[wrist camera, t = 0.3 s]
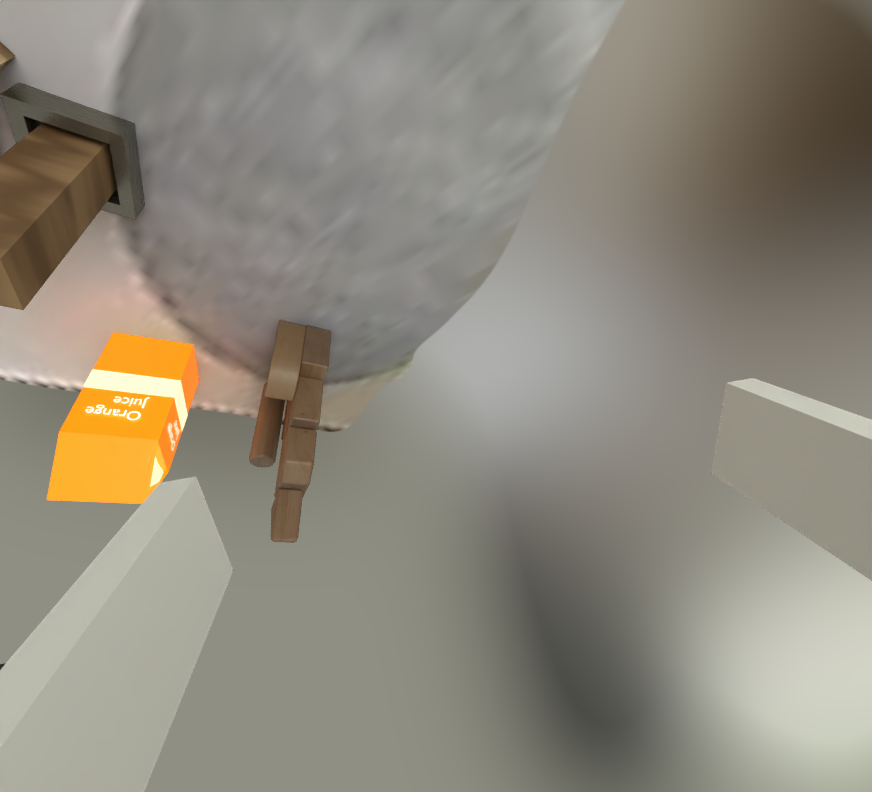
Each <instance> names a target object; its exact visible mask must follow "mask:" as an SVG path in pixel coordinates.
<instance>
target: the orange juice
mask: <svg viewBox="0 0 872 792" xmlns="http://www.w3.org/2000/svg"><path fill="white" fill-rule="evenodd" d="M198 381H199V378H198V372H197V365H196V358H195V351H194V345H192V344H185V343H179V342H172V341H166V340H160V339H153V338H147V337H140V336H134V335H127V334H121V333H115V332H113V334H112V336H111V338H110V340H109V341H108V343H107V345H106V347H105V349H104V351H103V352H102V354H101V356H100V358H99V360H98V362H97V363H96V365H95V367H94V369H92V371H91V373H90V375H89V377H88V379H87V380H86V382H85V384H84V386H83V389H82V391H81V393H80V395H79V397H78V398H77V400H76V402H75V404H74V406H73V407H72V409H71V411H70V413H69V415H68V417H67V419H66V420H65V422H64V424H63V426H62V428H61V430H60V431H59V433H58V434H59V436H58V442H57V447H56V452H55V458H54V463H53V469H52V475H51V479H50V485H49V491H48V496H47V500H60V501H85V502H112V503H136V504H137V503H138V504H142V503H143V502H144V501H145V500H146V499H147V497H148V496H149V495H150V494H151V493H152V492H153V490H154V489H155V488H156V487H157V486H158V484H159V483H161V481H162V480H163V479H164V477H165V476H166V474H167V473H168V472H169V469H170V466H171V463H172V460H173V456H174V454H175V451H176V448H177V444H178V441H179V439H180V436H181V432H182V431H183V428H184V425H185V422H186V419H187V416H188V411H189V408H190V405H191V402H192V399H193V396H194V393H195V390H196V387H197V384H198Z"/></svg>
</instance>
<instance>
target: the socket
mask: <svg viewBox="0 0 872 792" xmlns="http://www.w3.org/2000/svg"><path fill="white" fill-rule="evenodd" d="M0 95H1V98H2V101H3V104H4V107H5V110H6V113H7V116H8V119H9V122H10V125H11V128H12V131H13V134H14V137H15V140H16V143H18V142H19V141H21V140H22V139H23V138H24V137H26V136H27V135H28V134H29V133H31V132H32V131H33V130H34V129H35V128H37V127H38V126H39V125H40V124H42V123H43V122H44V123H47V124H50V125H53V126H56V127H59V128H62V129H65V130H68V131H71V132H74V133H77V134H80V135H83V136H86V137H89V138H92V139H95V140H98V141H101V142H104V143H107V144H110V150H111V155H112V161H113V167H114V173H115V178H116V184H117V189H116V190H115V192H114V193H113V194H112V196H111V197H110V198H109V199H108V201H107V202H106V203H105V205H104V206H103V207H102V209H101V210H103V211H107V212H111V213H114V214H118V215H121V216H125V217H128V218H132V219H136V218H137V216H138V215H139V213H140V212H141V210H142V209H143V207H144V206H145V203H144V195H143V187H142V179H141V171H140V164H139V156H138V148H137V140H136V132H135V125H134V123H131V122H129V121H126V120H123V119H120V118H117V117H115V116H112V115H109V114H106V113H103V112H100V111H98V110H95V109H92V108H89V107H86V106H83V105H81V104H78V103H75V102H72V101H69V100H67V99H64V98H61V97H58V96H55V95H52V94H50V93H47V92H44V91H41V90H38V89H35V88H33V87H30V86H27V85H24V84H21V83H17V84H16V85H14V86H13V87H11V88H9V89H8V90H6V91H5V92H3V93H2V94H0Z"/></svg>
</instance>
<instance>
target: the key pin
mask: <svg viewBox="0 0 872 792" xmlns="http://www.w3.org/2000/svg"><path fill="white" fill-rule="evenodd" d="M116 189H117V184H116V178H115V173H114V167H113V161H112V155H111V150H110V144H107V143H104V142H101V141H98V140H95V139H92V138H89V137H86V136H83V135H80V134H77V133H74V132H71V131H68V130H65V129H62V128H59V127H56V126H53V125H50V124H47V123H44V122H43V123H42V124H40V125H39V126H38V127H37V128H35V129H34V130H33V131H32V132H31V133H29V134H28V135H27V136H26V137H24V138H23V139H22V140H21V141H19V142H18V143H17V144H16V145H14V146H13V147H12V148H11V149H9V150H8V151H7V152H6V153H4V154H3V155H2V156H1V157H0V306H5V307H10V308H16V309H21V310H24V309H25V307H26V306H27V305H28V303H29V302H30V301H31V300H32V298H33V297H34V296H35V294H36V293H37V292H38V290H39V289H40V288H41V287H42V285H43V284H44V283H45V281H46V280H47V279H48V277H49V276H50V275H51V274H52V272H53V271H54V270H55V268H56V267H57V266H58V264H59V263H60V262H61V261H62V259H63V258H64V257H65V255H66V254H67V253H68V251H69V250H70V249H71V248H72V246H73V245H74V244H75V242H76V241H77V240H78V238H79V237H80V236H81V235H82V233H83V232H84V231H85V229H86V228H87V227H88V225H89V224H90V223H91V222H92V220H93V219H94V218H95V216H96V215H97V214H98V212H99V211H100V210H101V209H102V207H103V206H104V205H105V203H106V202H107V201H108V199H109V198H110V197H111V196H112V194H113V193H114V192H115V190H116Z"/></svg>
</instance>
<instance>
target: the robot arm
mask: <svg viewBox="0 0 872 792" xmlns="http://www.w3.org/2000/svg"><path fill="white" fill-rule="evenodd" d="M711 473H712V474H713V475H714V476H716V477H717V478H719V479H720V480H722V481H723V482H725V483H726V484H728V485H729V486H731V487H732V488H734V489H735V490H737V491H738V492H740V493H741V494H743V495H745V496H746V497H747V498H749V499H750V500H752V501H753V502H755V503H756V504H758V505H759V506H761V507H762V508H764V509H766V510H767V511H768V512H770V513H771V514H773V515H775V516H776V517H777V518H779V519H780V520H782V521H783V522H785V523H786V524H788V525H789V526H791V527H792V528H794V529H795V530H797V531H798V532H800V533H801V534H803V535H804V536H806V537H807V538H809V539H810V540H812V541H813V542H815V543H816V544H818V545H819V546H821V547H822V548H824V549H825V550H827V551H828V552H830V553H831V554H833V555H834V556H836V557H837V558H839V559H840V560H842V561H843V562H845V563H846V564H848V565H849V566H851V567H852V568H854V569H855V570H856V571H858V572H860V573H861V574H862V575H864V576H865V577H867V578H868V579H870V580H871V581H872V420H871V419H868V418H865V417H862V416H859V415H856V414H854V413H851V412H847V411H845V410H842V409H839V408H836V407H834V406H831V405H828V404H825V403H822V402H819V401H816V400H814V399H811V398H808V397H805V396H802V395H799V394H797V393H794V392H791V391H788V390H785V389H782V388H779V387H777V386H774V385H771V384H768V383H765V382H762V381H759V380H757V379H754V378H751V379H745V380H740V381H734V382H728V383H726V389H725V395H724V401H723V406H722V413H721V418H720V424H719V430H718V436H717V442H716V448H715V454H714V460H713V466H712V471H711ZM232 572H233V569H232V566H231V564H230V561H229V559H228V556H227V554H226V551H225V549H224V546H223V544H222V541H221V539H220V536H219V533H218V531H217V528H216V526H215V523H214V521H213V518H212V516H211V513H210V511H209V508H208V506H207V503H206V501H205V498H204V495H203V493H202V490H201V488H200V485H199V483H198V480H197V478H196V477H191V478H185V479H179V480H174V481H168V482H163V483H159V484H158V486H157V487H156V488H155V489H154V490H153V492H152V493H151V494H150V495H149V496H148V497H147V499H146V500H145V501H144V502H143V503H142V504H141V506H140V507H139V508H138V509H137V510H136V512H135V513H134V514H133V515H132V516H131V517H130V519H129V520H128V521H127V522H126V523H125V524H124V526H123V527H122V528H121V529H120V531H118V533H117V534H116V535H115V536H114V537H113V538H112V540H111V541H110V542H109V543H108V544H107V546H106V547H105V548H104V549H103V550H102V551H101V553H100V554H99V555H98V556H97V557H96V558H95V560H94V561H93V562H92V563H91V564H90V565H89V567H88V568H87V569H86V570H85V571H84V573H83V574H82V575H81V576H80V577H79V578H78V580H77V581H76V582H75V583H74V584H73V585H72V587H71V588H70V589H69V590H68V591H67V593H66V594H65V595H64V596H63V597H62V598H61V600H60V601H59V602H58V603H57V604H56V605H55V607H54V608H53V609H52V610H51V611H50V612H49V614H48V615H47V616H46V617H45V618H44V619H43V621H42V622H41V623H40V624H39V625H38V626H37V628H36V629H35V630H34V631H33V632H32V634H31V635H30V636H29V637H28V638H27V639H26V641H25V642H24V643H23V644H22V645H21V647H20V648H19V649H18V650H17V651H16V652H15V653H14V655H13V656H12V657H11V658H10V660H8V662H7V663H5V664H0V792H144V791H145V788H146V786H147V783H148V781H149V778H150V776H151V773H152V771H153V768H154V766H155V763H156V761H157V758H158V756H159V753H160V751H161V748H162V746H163V743H164V741H165V738H166V736H167V734H168V731H169V729H170V726H171V723H172V721H173V718H174V716H175V714H176V711H177V709H178V706H179V704H180V701H181V699H182V696H183V694H184V691H185V689H186V686H187V684H188V681H189V679H190V676H191V674H192V671H193V669H194V666H195V664H196V661H197V659H198V656H199V654H200V651H201V649H202V646H203V644H204V641H205V639H206V637H207V634H208V632H209V629H210V627H211V624H212V622H213V619H214V617H215V614H216V612H217V609H218V607H219V604H220V602H221V599H222V597H223V594H224V592H225V589H226V587H227V584H228V582H229V579H230V577H231V574H232Z"/></svg>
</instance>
